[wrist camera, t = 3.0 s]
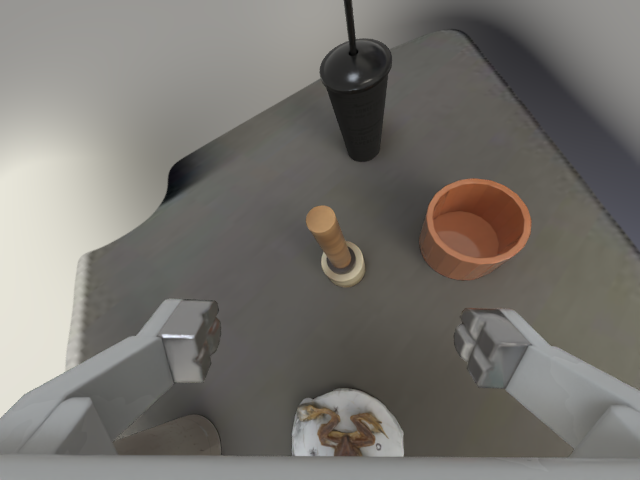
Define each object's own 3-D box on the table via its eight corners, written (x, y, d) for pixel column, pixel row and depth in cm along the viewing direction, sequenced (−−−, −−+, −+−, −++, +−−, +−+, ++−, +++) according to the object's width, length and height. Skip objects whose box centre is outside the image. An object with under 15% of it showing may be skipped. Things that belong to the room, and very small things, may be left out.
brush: (372, 262, 34) (364, 207, 21) (351, 295, 34) (327, 260, 20) (340, 243, 36) (313, 181, 23) (319, 274, 35) (278, 229, 22)
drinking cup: (372, 177, 39) (361, 30, 21) (329, 158, 42) (286, 14, 24) (399, 138, 40) (411, -33, 22) (356, 122, 43) (334, -40, 25)
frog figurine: (428, 508, 25) (435, 535, 22) (307, 535, 26) (295, 564, 23) (385, 374, 30) (385, 378, 26) (283, 402, 31) (271, 409, 27)
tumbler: (516, 230, 32) (548, 202, 26) (479, 295, 30) (504, 282, 24) (441, 198, 35) (453, 165, 29) (405, 255, 34) (409, 234, 28)
